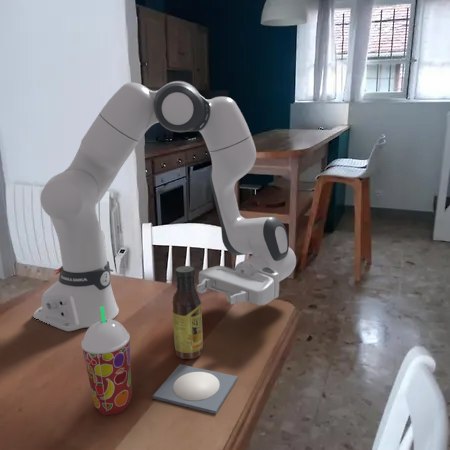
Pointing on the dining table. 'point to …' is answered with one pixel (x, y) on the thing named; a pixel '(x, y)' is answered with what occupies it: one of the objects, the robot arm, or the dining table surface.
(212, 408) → the card
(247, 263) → the robot arm
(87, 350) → the smoothie
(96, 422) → the dining table surface
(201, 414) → the dining table surface
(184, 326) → the sauce bottle
